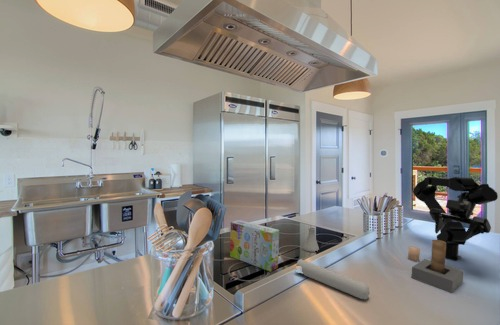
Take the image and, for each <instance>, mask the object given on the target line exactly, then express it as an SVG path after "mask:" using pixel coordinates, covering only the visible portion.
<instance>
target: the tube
mask: <svg viewBox="0 0 500 325" xmlns="http://www.w3.org/2000/svg"><path fill="white" fill-rule="evenodd" d="M296 266H301V267H302V272H303V274H304V275H303V276H304V277H307V278H309V279H311V280H314V281H317V282H320V284H321V283H322V284H325V285H326V286H329V287H331V288H333V289H336V290H339V291H341V292H342V293H346V294H348V295H351V296H353V297H355V298H358V299H360V300H363V299H364V300H368V298H369V296H370V293H371V292H370V287H369V286H368V284H366V283H364V282H362V281H360V280H357V279H354V278H351V277H349V276H345V275H343V274H340V273H337V272H335V271H332V270H330V269H328V268H324V267H322V266H319V265H316V264H314V263H312V262H308V261H306V260H304V259H302V258H300V259H298V260H297V263H296V264H295V267H296Z"/></svg>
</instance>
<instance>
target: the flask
mask: <svg viewBox="0 0 500 325" xmlns="http://www.w3.org/2000/svg"><path fill="white" fill-rule="evenodd" d="M307 229H308V235H307V238H306V241H305V243H304V246H303V248H302V250H303V251H306V252H309V253H310V252H311V253H316V252H315V251H317V252H319V251H320V247H319V244H318V242H317V238H316V234H315V232H316V231H315V230H316V227H314V226H313V227H312V226H309V227H308V228H307ZM318 250H319V251H318Z"/></svg>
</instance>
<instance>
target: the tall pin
mask: <svg viewBox="0 0 500 325" xmlns="http://www.w3.org/2000/svg"><path fill="white" fill-rule="evenodd" d="M445 256H446V242H444V241H441V240H437V239H432V244H431V260H430V261H431V270H432V271H435V272H438V273H441V274H444V271H445V265H446V257H445Z"/></svg>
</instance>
